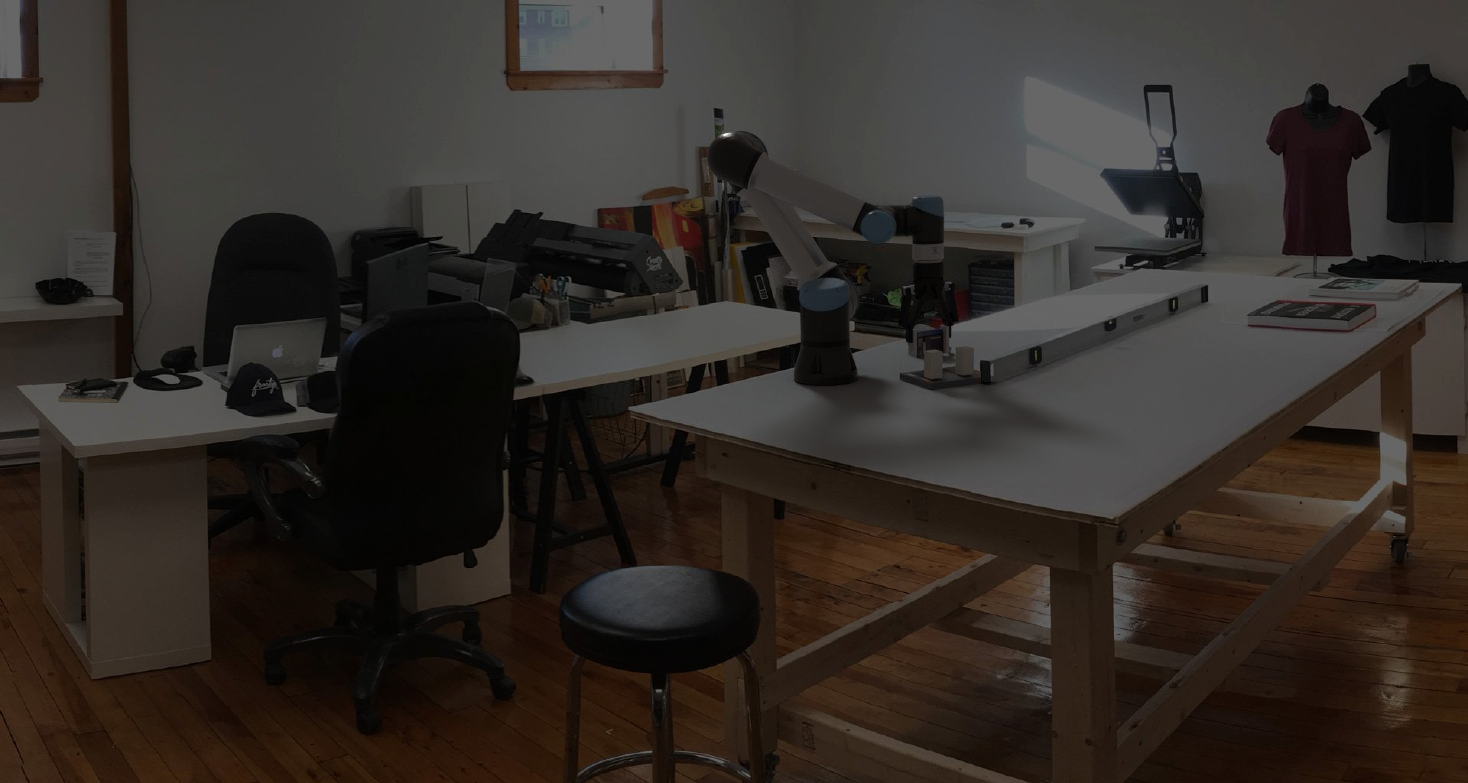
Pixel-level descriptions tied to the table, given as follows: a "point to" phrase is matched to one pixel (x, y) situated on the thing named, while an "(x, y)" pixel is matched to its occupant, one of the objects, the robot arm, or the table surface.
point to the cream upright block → (933, 364)
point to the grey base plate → (942, 379)
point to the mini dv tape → (929, 341)
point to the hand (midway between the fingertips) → (928, 353)
